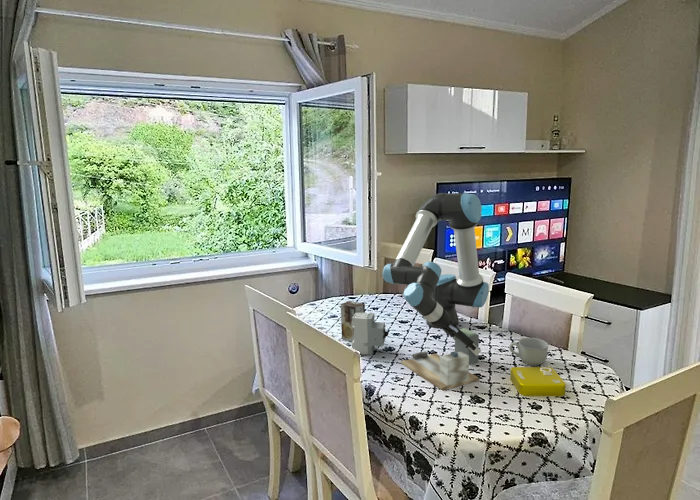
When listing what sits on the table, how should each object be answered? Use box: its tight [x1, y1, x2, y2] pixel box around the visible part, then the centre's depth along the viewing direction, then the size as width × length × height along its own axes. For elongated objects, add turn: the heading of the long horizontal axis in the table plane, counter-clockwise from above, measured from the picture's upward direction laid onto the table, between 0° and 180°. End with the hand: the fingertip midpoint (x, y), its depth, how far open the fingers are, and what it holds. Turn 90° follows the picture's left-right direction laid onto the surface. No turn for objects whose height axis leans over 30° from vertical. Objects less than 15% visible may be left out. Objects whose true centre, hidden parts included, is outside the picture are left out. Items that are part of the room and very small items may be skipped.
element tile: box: [509, 366, 567, 397], centre depth 174 cm, size 15×15×5 cm
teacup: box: [508, 337, 549, 366], centre depth 194 cm, size 14×11×8 cm
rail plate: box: [400, 350, 480, 391], centre depth 186 cm, size 16×26×11 cm, turn 26°
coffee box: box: [340, 300, 366, 343], centre depth 222 cm, size 9×6×16 cm
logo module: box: [454, 327, 480, 365], centre depth 197 cm, size 5×8×12 cm, turn 26°
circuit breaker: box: [351, 312, 390, 355], centre depth 208 cm, size 8×14×15 cm, turn 78°
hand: (471, 349), depth 198 cm, fingers closed on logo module, 8 cm apart
